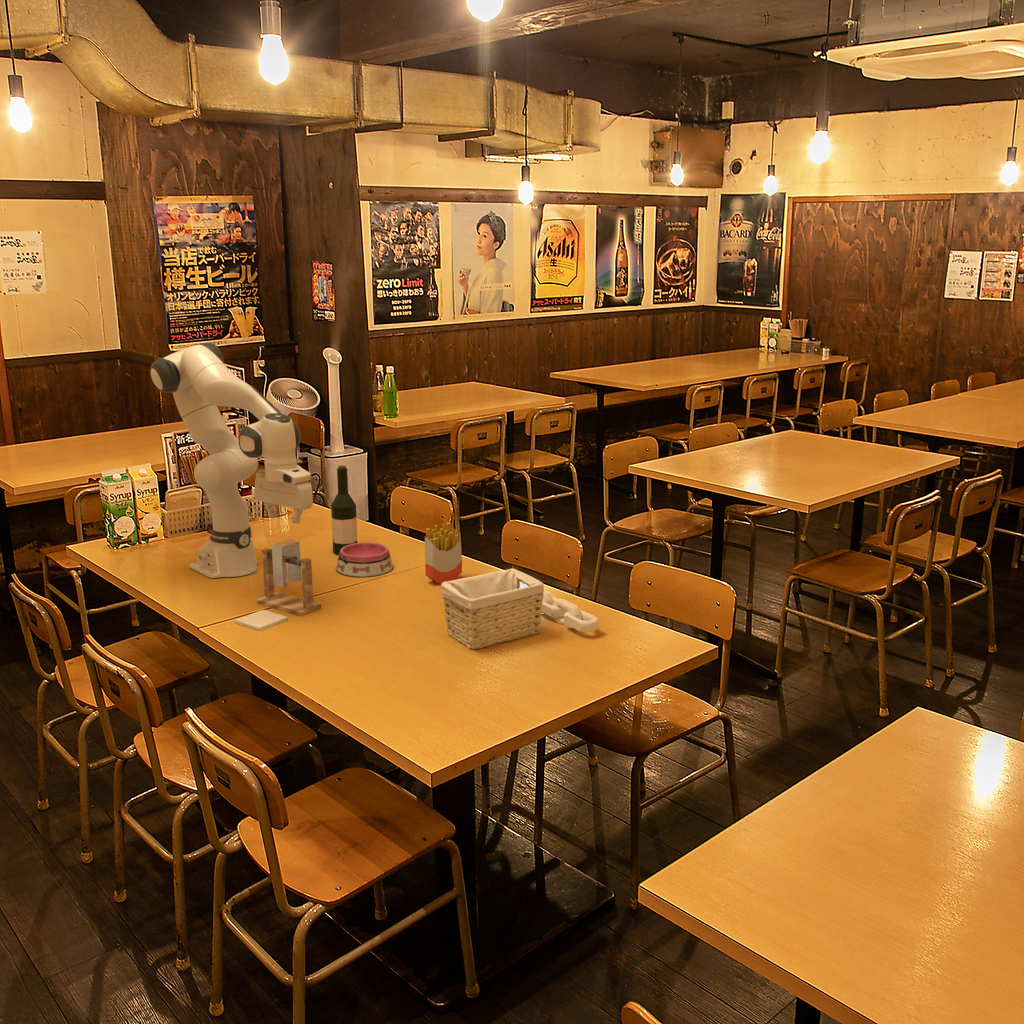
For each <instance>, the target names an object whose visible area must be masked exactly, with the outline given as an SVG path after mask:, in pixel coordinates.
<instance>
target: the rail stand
mask: <svg viewBox="0 0 1024 1024" xmlns="http://www.w3.org/2000/svg"><path fill="white" fill-rule="evenodd" d="M261 557H262V558H261V559H262V572H263V574H262V575H263V588H264V596H262V597H259V598H257V599H256V604H259V605H261V606H266V607H269V608H272V609H276V610H279V611H282V612H285V613H288V614H292V615H296V616H298V617H302V616H305V615H308V614H310V613H313V612H315V611H318V610H321V609H322V603H318V602H316V601H315V602H314V591H313V590H314V586H313V569H312V567H313V566H312V559H311V558H308V557H306V558H302V559H301V558H300V559H296V558H289V559H286V564H287V563H290V564H293V565H297V566H301V584H302V585H301V587H302V598H300V597H298V596H294V595H291V594H290V595H289V594H286V593H284V592H280V591H276V592H275V585H274V577H273V560H272V548H268V547H266V548H262V549H261Z"/></svg>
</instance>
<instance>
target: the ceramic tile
mask: <svg viewBox="0 0 1024 1024" xmlns="http://www.w3.org/2000/svg"><path fill="white" fill-rule="evenodd" d="M288 619H289V618H288V616H285V615H283V614H278V613H275V612H271V611H268V610H265V609H262V610H258V611H254V612H253V613H250V614H247V615H244V616H243V617H240V618H239V617H238V618H237V619H234V623H235V624H237V625H240V626H242V627H246V628H249V629H253V630H255V631H258V632H260V631H263V630H266V629H268V628H270V627H274V626H275V625H277V624H280V623H281V624H282V623H284V622H286V621H289V620H288Z"/></svg>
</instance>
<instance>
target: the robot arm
mask: <svg viewBox="0 0 1024 1024" xmlns="http://www.w3.org/2000/svg"><path fill="white" fill-rule="evenodd" d="M149 372H150V376H151V381H152V382H153V384H154V385H155V387H156V389H158V391H160V392H162V393H164V394H171V393H172V395H173V399H174V402H175V405H176V408H177V410H178V413H179V416H180V417H181V419H182V421H183V424H184V425H185V427H186V429H187V432H188V434H189V436H190V438H191V439H192V441H193V443H195V444H198V445H199V446H201V447H202V448H203V449H205V451H207V453H208V454H209V455H207V456H205V457H203V459H201V460H200V461H199V462H197V464H196V465H195V467H194V470H193V477H194V480H195V482H196V484H197V485H198V486H199V487H200V488H201V489H202V490H204V492H205V494H206V496H207V498H208V501H209V504H210V505H209V506H210V510H211V519H212V528H209V529H208V532H207V534H210V536H209V539H208V540H207V541H206V542H205V543H204V544H203V545H201V546H200V547H199V548H198V549H197V553H196V561H194V562H191V563H190V564H189V569H192V570H193V571H195V572H197V573H200V574H201V575H204V576H205V577H208V578H209V579H214V578H233V577H241V576H246V575H249V574H253V573H254V572H256V571H257V570H258V564H259V561H258V559H256V553H255V548H254V541H253V540H252V539H251V538H252V527H251V526H250V522H249V521H250V518H249V505H248V502H247V501H246V499H244V498H243V497H242V496H241V493H240V491H239V486H238V485H239V483H240V482H243V481H246V480H247V479H249V478H250V477H251V476H252V475H253V474H254V473H255V480H254V498H255V500H256V501H257V502H261V503H264V506H265V509H266V510H267V512H268V518H270V519H276V518H277V517H278V511H276V510H275V508H274V505H276V506H282V507H285V508H286V507H287V508H290V509H291V508H292V509H293V512H294V515H293V516H291V522H292V524H296V525H297V524H300V523H301V516H302V514H303V512H304V510H309V509H311V508H312V506H313V505H314V497H313V496H314V495H313V486H312V484H311V482H310V481H311V480H312V475H311V472H309V471H308V470H306V469H304V468H302V466H300V465H299V464H298V460H297V459H298V458H297V456H296V450H297V449H298V447H299V445H300V443H301V440H302V432H301V429H300V427H299V426H298V424H297V423H296V422H295V421H294V420H293V419H292V418H291V416H289V415H287V414H284V413H282V412H281V411H280V410H279V409H278V408H276V406H274V404H273V403H271V401H270V400H268V399H267V398H266V396H264V395H263V394H262V393H261V392H260V391H259V390H258V389H257V388H255V386H253V385H251V384H249V383H247V382H246V381H245V380H242V379H241V378H240V377H238V376H237V375H235V374H234V373H233V372H232V371H231V370H230V369H229V368H228V367H227V366H226V365H225V358H224V356H223V354H222V351H221V349H220V348H219V347H218V346H217V345H216V344H214V343H212V342H202V343H201V342H200V343H199V344H195V345H191V346H188V347H185V348H182V349H179V350H178V351H175V352H173V353H170V354H169V355H167V356H164V357H160V358H158V359H156V360H155V361H153V362H152V363H151V365H150V368H149ZM218 407H230V408H235V409H236V408H237V409H242V410H244V411H247V412H250V413H251V414H252V415H253V416H254V417H255V418H256V419H257V420H258V421H257V422H254V423H251V424H247V425H244V426H242V428H241V429H240V431H239V433H238V438H237V437H236V435H235V434H234V433H233V432H232V430H230V428H229V427H228V424H227V423H226V421H225V420H224V418H223V415H222V414H221V411H220V410H219V408H218ZM259 458H263V459H264V461H263V464H264V469H263V468H259V469H258V467H259V460H258V459H259Z"/></svg>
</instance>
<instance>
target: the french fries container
mask: <svg viewBox="0 0 1024 1024" xmlns="http://www.w3.org/2000/svg"><path fill="white" fill-rule="evenodd" d="M441 526H442V527H441V528H438V527H439V526H438V525H437V524H435V525H434V528H432V529H431V528H429V527H427V528H425V536H424V558H425V559H424V562H425V564H424V565H425V567H424V569H425V571H424V572H425V576H426V577H427V578H428V579H429V580H431V581H433V582H434V583H436V584H438V585H440V584H442V583H443V582H446V581H452V580H457V579H459V577H460V575H461V574H462V573H463V556H462V543H461V537H460V534H459V532H458V530H456V529H455V528H452V523H451V521H450V522H446V523H442V524H441Z"/></svg>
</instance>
